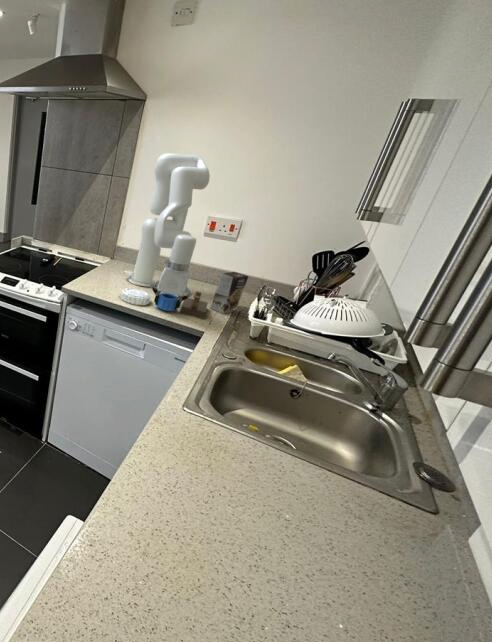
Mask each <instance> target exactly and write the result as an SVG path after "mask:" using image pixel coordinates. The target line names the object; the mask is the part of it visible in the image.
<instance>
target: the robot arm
mask: <svg viewBox="0 0 492 642" xmlns="http://www.w3.org/2000/svg"><path fill="white" fill-rule="evenodd" d="M154 176H155V178H154V179H155V183H154V188H153V194H152V197H151V203H150V209H149V210H150V213H151V214H152V215H154V216H158V217H157V218H156V217H152V218H148V219H146V220H145V221H143V223H142V227H141V228H142V229H141V239H140V244H139V248H138V253H137V256H136V260H135V265H134V269H133V271H129V270H124V272H123V274H124V276H127V277H128V282H130V283H131V284H133V285H135V286H139V287H146V288H151V290H152V292H153V293H154V295H155V297H154V299H153V302H154V305H155V306H157V302H158V299H159V295H160V293H168V294H172V295H175V296H177V297H178V301H177V304H176V307H175V310H174V311H177V310H178V309H180V308H181V305H182V303H183V301H184V300H185V299H187V298H191V297H193V295H194V293H193V291H191V289H190V288H189V287H188V281H189V276H190V272H189V267H190V264H191V261H192V257H193V254H194V250H195V248H196V244H197V238H196V237H194V236H192V234H191V232H189V231H185V230H184V227H185V224H186V220H187V216H188V211H189V208H191V206H192V202H193V191H194V190H199V191H201V190H205V189H206V188H207V187H208V185H209V183H210V178H211V177H210V176H211V175H210V171H209V167H208V165H207V164H206V163H205V161H204V159H203V158H202V157H201V156H199V155H193V154H183V153H171V152H170V153H164V154H161V155H160V156H159V157H158V158H157V160H156V162H155V167H154ZM169 217H171V218H172V219H168V218H169ZM162 249H171V252H170V255H169V259H168V260H164V262H163V264H164V265H166V266H165V267H164V269H163V270H162V272H161V274H160V278H159V280H156V281H155V280H154V278H155V274H156V270H157V266H158V263H159V259H160V255H161V252H162ZM156 286H157V287H156ZM185 292H186V294H185ZM184 294H185V295H184Z"/></svg>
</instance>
